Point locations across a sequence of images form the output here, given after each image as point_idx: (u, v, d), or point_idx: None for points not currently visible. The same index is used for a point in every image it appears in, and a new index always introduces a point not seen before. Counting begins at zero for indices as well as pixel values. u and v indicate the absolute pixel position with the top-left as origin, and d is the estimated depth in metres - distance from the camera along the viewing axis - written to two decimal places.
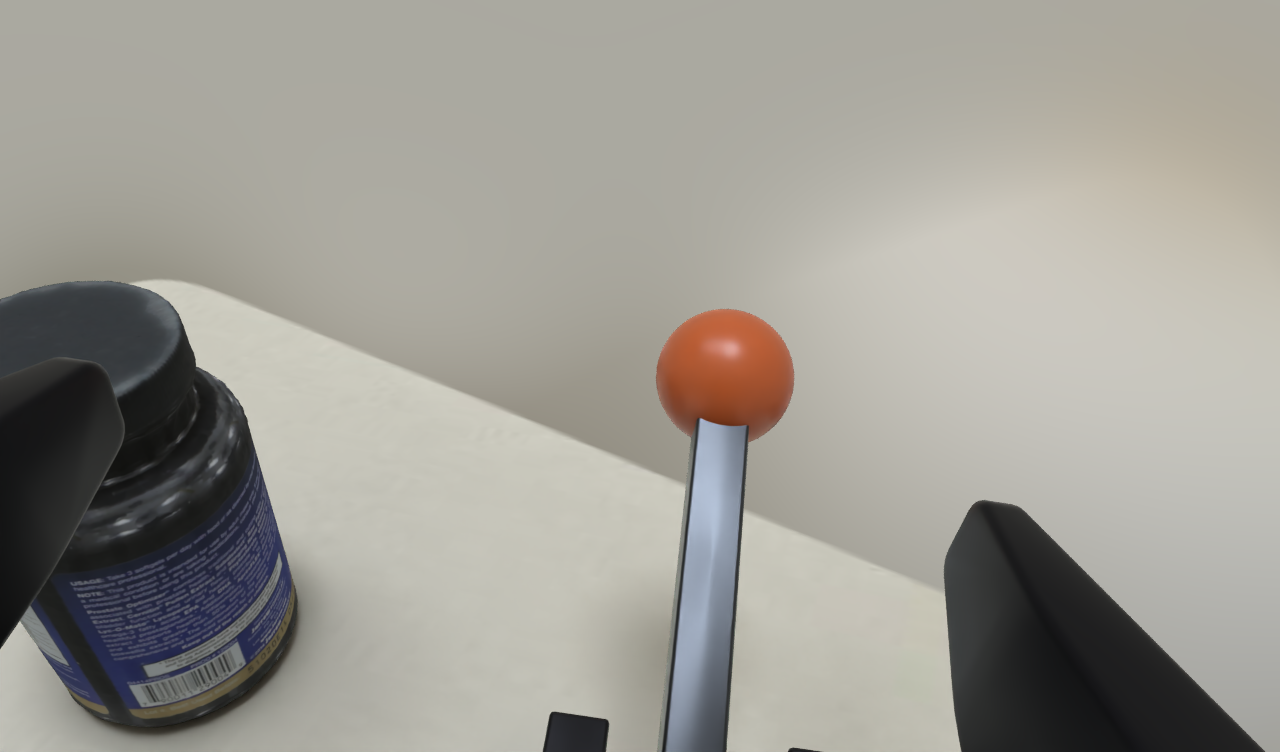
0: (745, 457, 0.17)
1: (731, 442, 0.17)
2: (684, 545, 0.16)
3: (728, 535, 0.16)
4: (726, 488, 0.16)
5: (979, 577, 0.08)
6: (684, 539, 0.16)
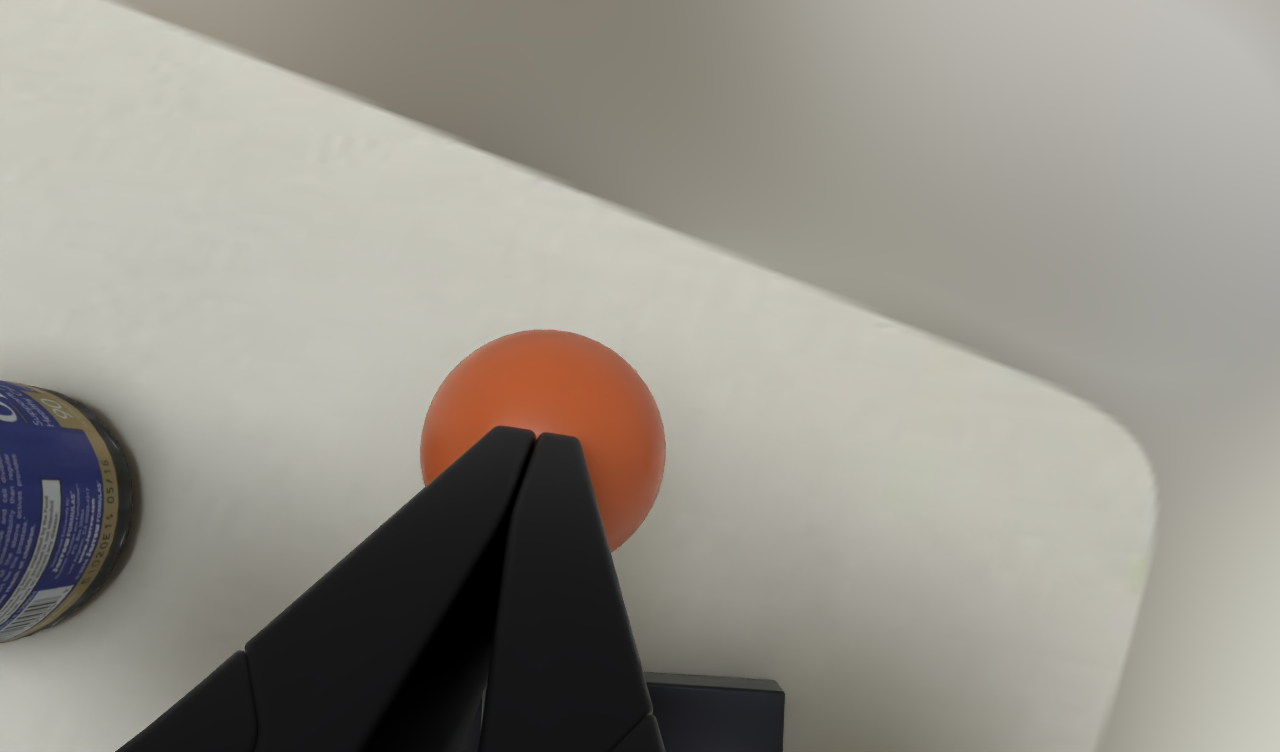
0: None
1: None
2: None
3: None
4: None
5: None
6: None
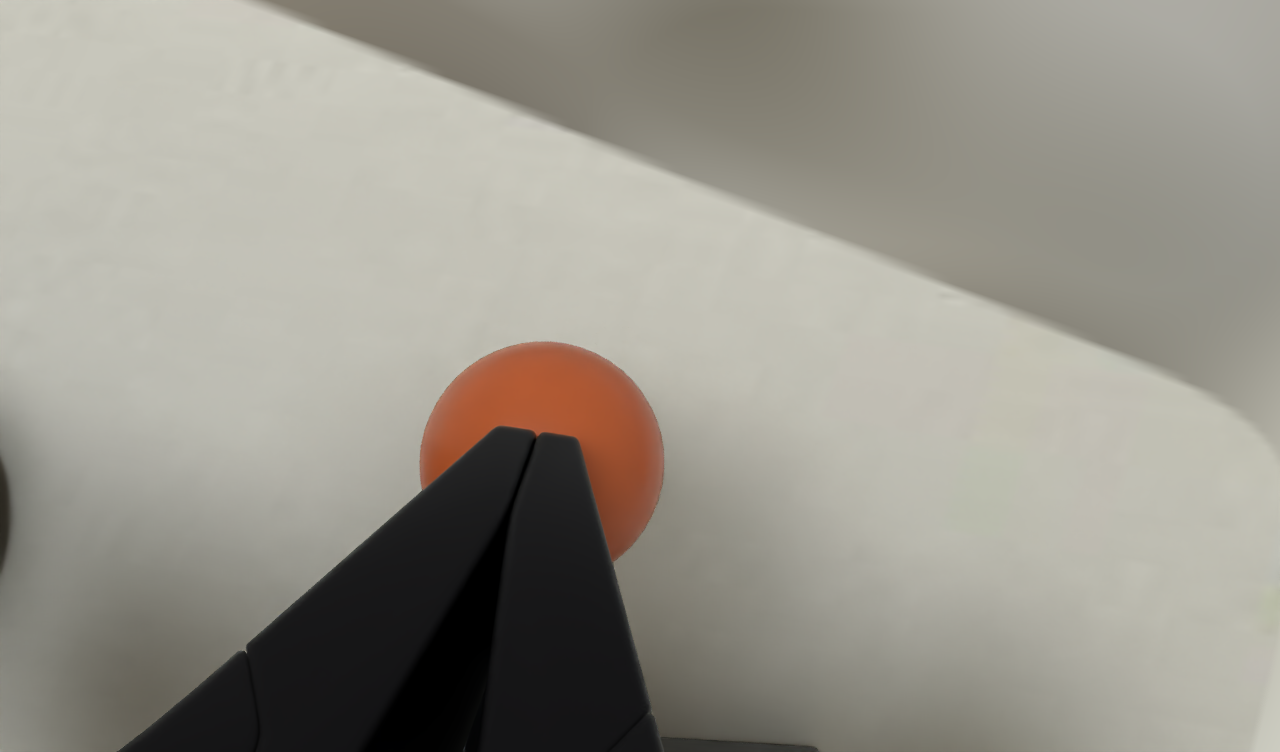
0: None
1: None
2: None
3: None
4: None
5: None
6: None
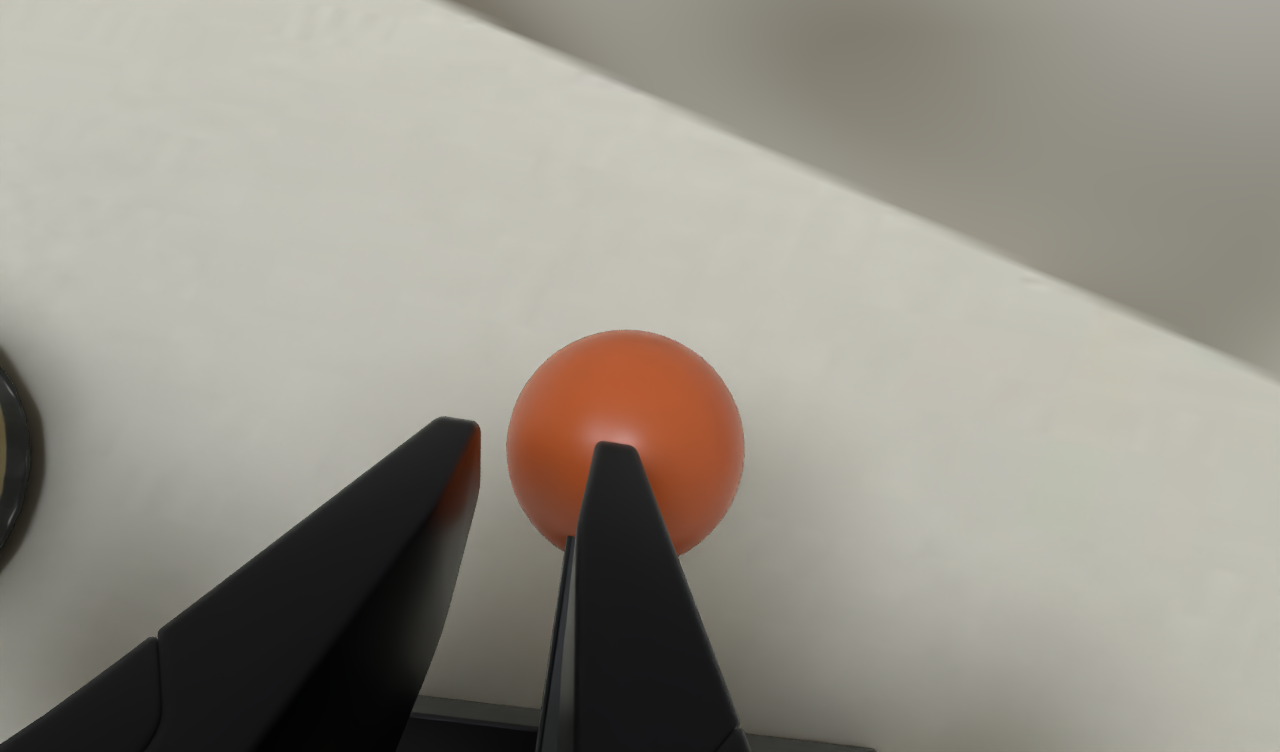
0: None
1: None
2: None
3: None
4: None
5: None
6: None
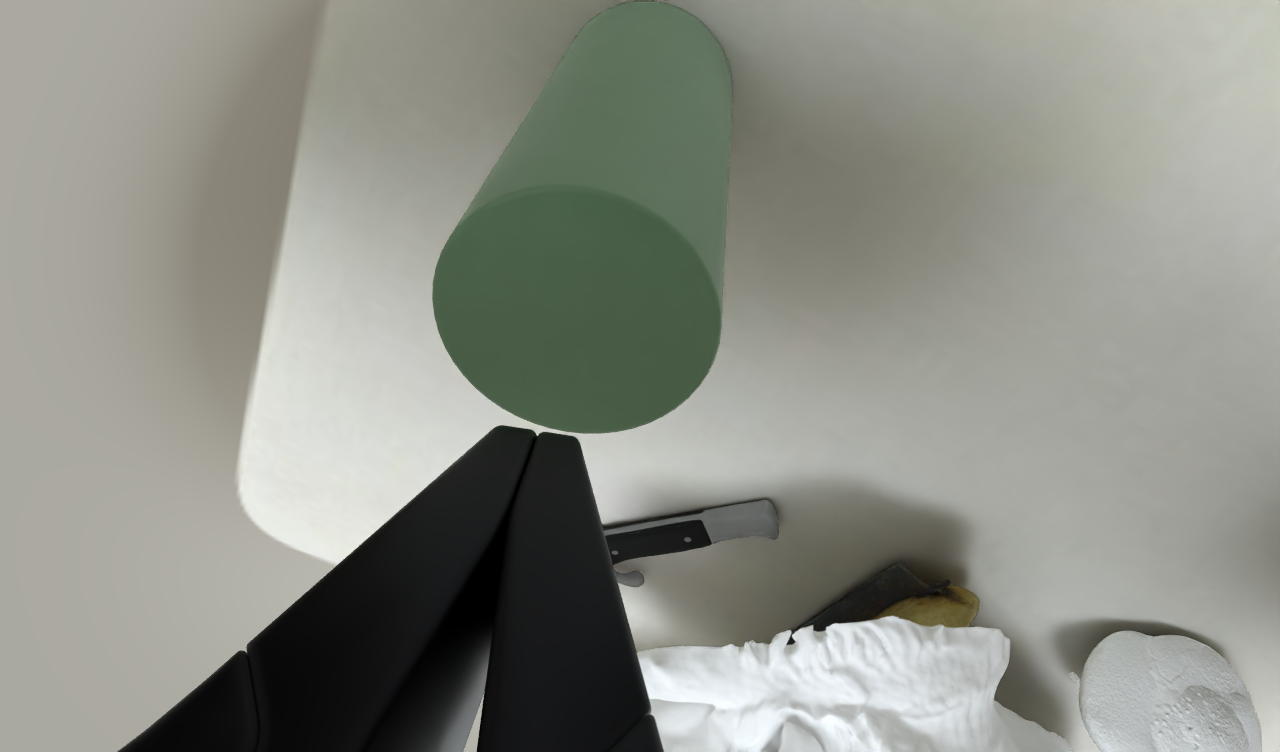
0: None
1: None
2: None
3: None
4: None
5: None
6: None
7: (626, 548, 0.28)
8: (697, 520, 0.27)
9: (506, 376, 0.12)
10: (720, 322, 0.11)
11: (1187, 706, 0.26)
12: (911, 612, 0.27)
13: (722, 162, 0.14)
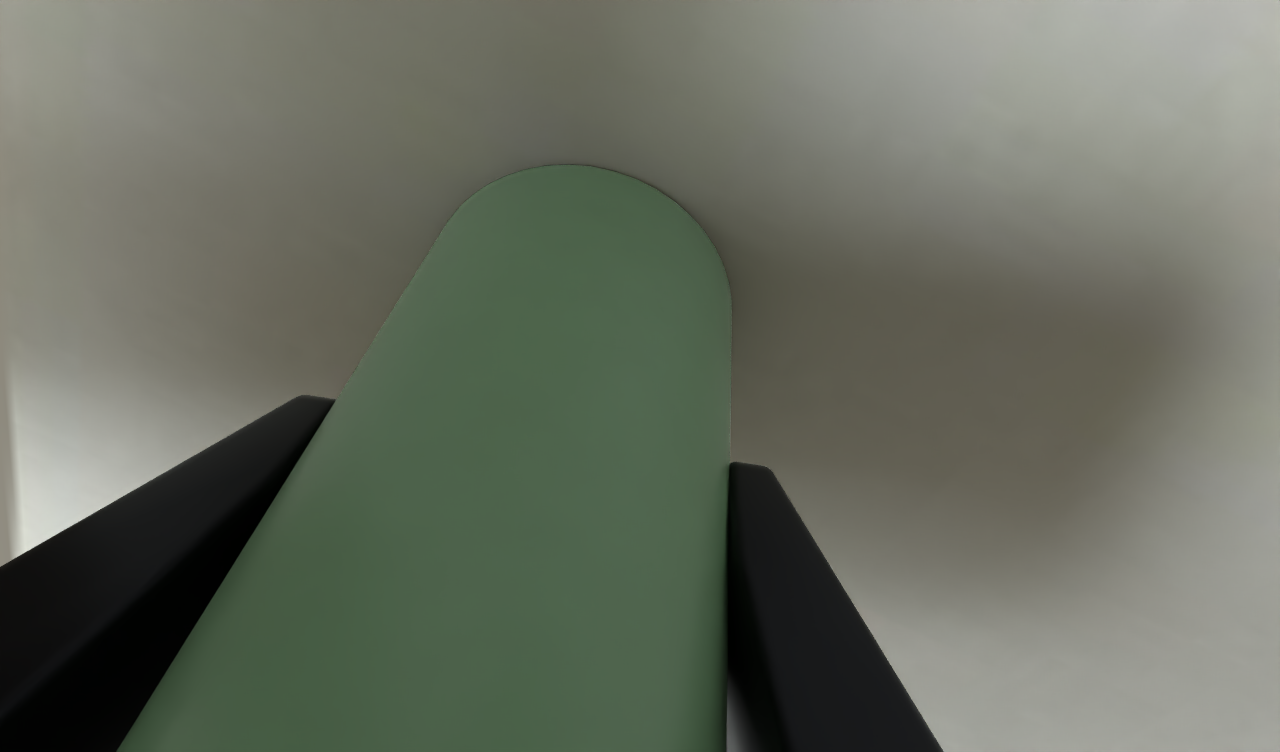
0: None
1: None
2: None
3: None
4: None
5: None
6: None
7: None
8: None
9: None
10: None
11: None
12: None
13: (714, 673, 0.06)
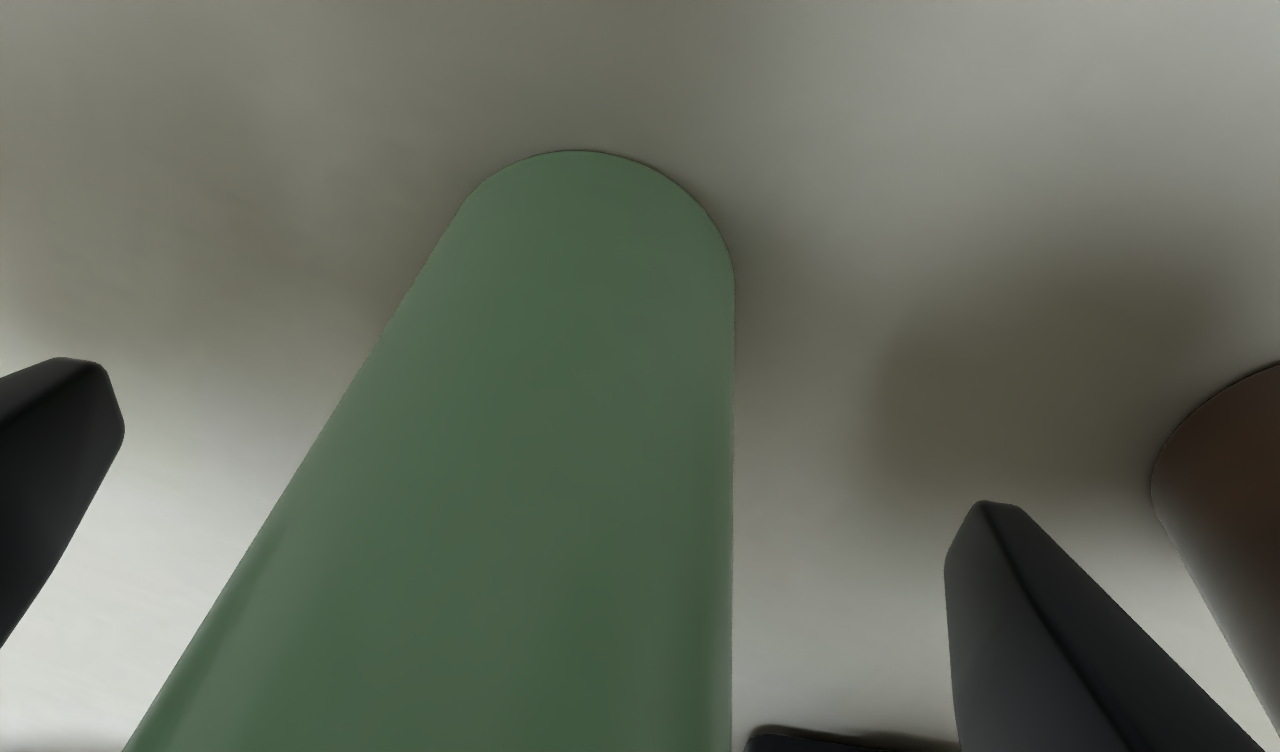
0: None
1: None
2: None
3: None
4: None
5: (979, 577, 0.08)
6: None
7: None
8: None
9: None
10: None
11: None
12: None
13: (721, 620, 0.06)
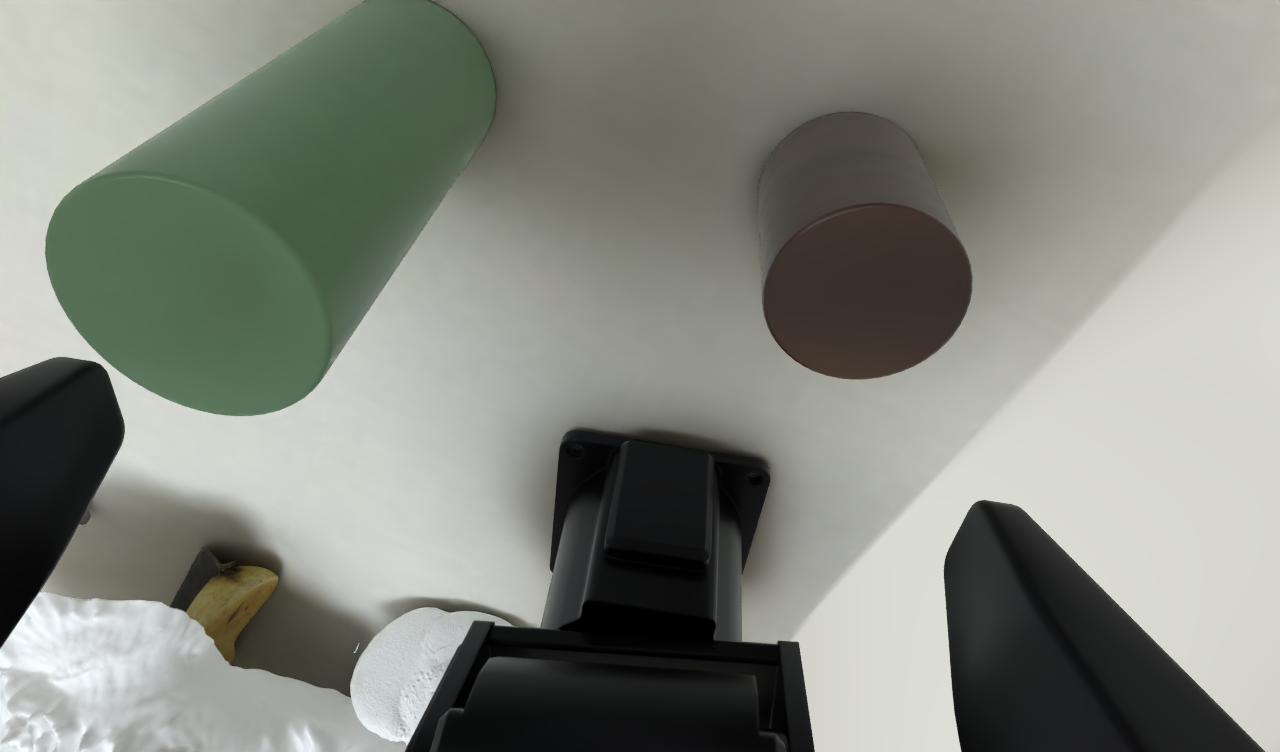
0: None
1: None
2: None
3: None
4: None
5: (979, 577, 0.08)
6: None
7: None
8: None
9: (142, 359, 0.12)
10: (326, 306, 0.11)
11: (438, 673, 0.29)
12: (200, 591, 0.30)
13: (407, 152, 0.14)
